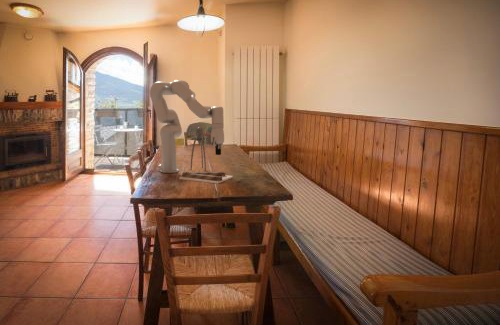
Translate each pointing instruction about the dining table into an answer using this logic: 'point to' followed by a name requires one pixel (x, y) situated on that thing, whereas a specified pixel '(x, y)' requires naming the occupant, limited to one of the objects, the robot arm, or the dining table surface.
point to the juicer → (199, 135)
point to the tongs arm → (211, 173)
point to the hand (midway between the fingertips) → (218, 154)
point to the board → (208, 180)
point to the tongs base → (201, 176)
